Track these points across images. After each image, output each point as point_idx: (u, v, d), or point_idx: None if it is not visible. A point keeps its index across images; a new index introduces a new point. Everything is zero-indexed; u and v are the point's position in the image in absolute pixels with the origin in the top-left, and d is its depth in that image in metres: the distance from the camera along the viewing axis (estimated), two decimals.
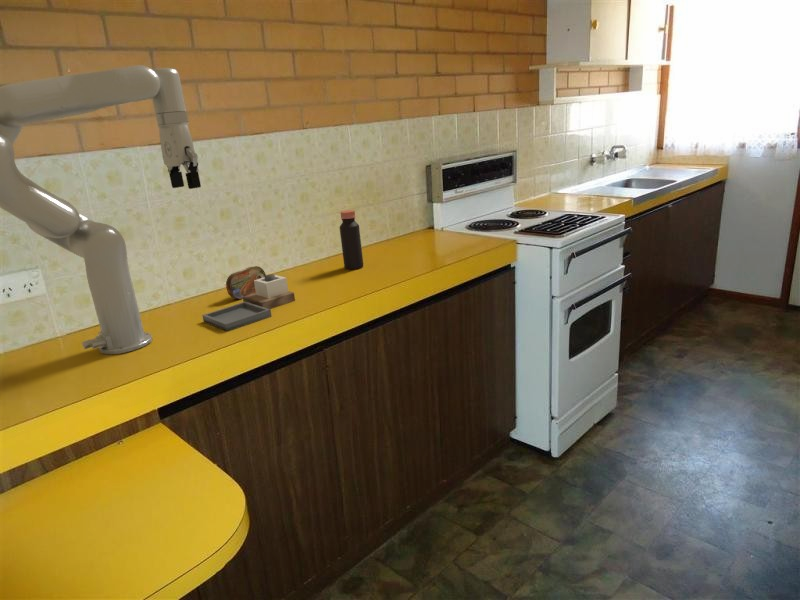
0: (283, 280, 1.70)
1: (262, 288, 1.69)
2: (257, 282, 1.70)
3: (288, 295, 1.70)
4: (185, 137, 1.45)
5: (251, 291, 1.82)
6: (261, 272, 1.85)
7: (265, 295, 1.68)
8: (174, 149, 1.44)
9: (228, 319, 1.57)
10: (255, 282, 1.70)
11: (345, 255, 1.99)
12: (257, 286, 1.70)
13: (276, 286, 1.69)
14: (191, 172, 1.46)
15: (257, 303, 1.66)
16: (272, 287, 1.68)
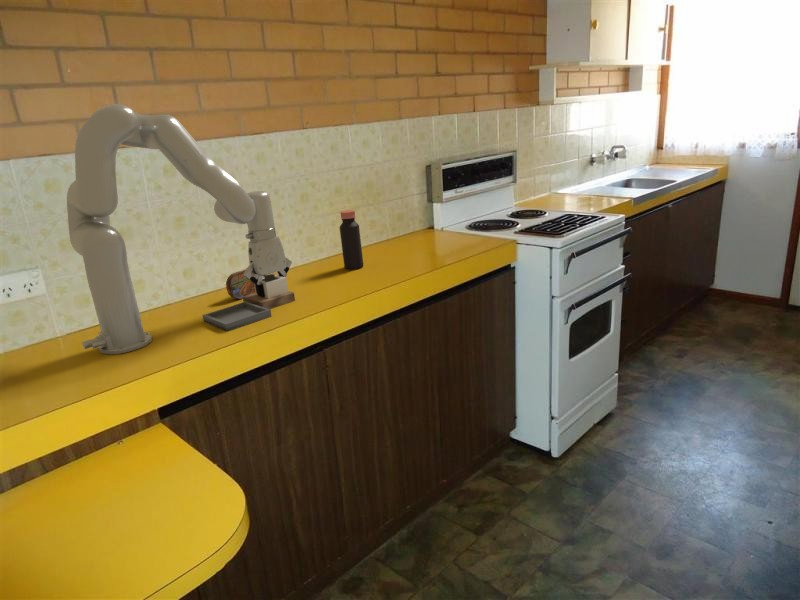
0: (283, 280, 1.70)
1: None
2: None
3: (288, 295, 1.70)
4: None
5: (251, 291, 1.82)
6: None
7: (265, 295, 1.68)
8: (281, 256, 1.69)
9: (228, 319, 1.57)
10: None
11: (345, 255, 1.99)
12: None
13: (276, 286, 1.69)
14: None
15: (257, 303, 1.66)
16: (272, 287, 1.68)
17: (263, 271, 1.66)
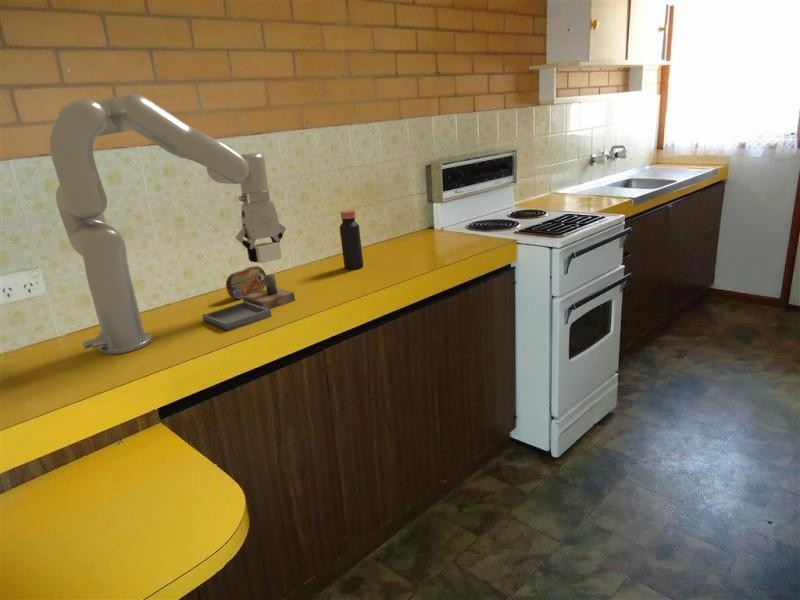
0: (277, 246, 1.67)
1: None
2: None
3: (288, 295, 1.70)
4: None
5: (251, 291, 1.82)
6: (261, 272, 1.85)
7: (258, 260, 1.65)
8: (275, 221, 1.66)
9: (228, 319, 1.57)
10: None
11: (345, 255, 1.99)
12: None
13: (269, 251, 1.65)
14: None
15: (257, 303, 1.66)
16: (265, 252, 1.64)
17: (256, 235, 1.62)
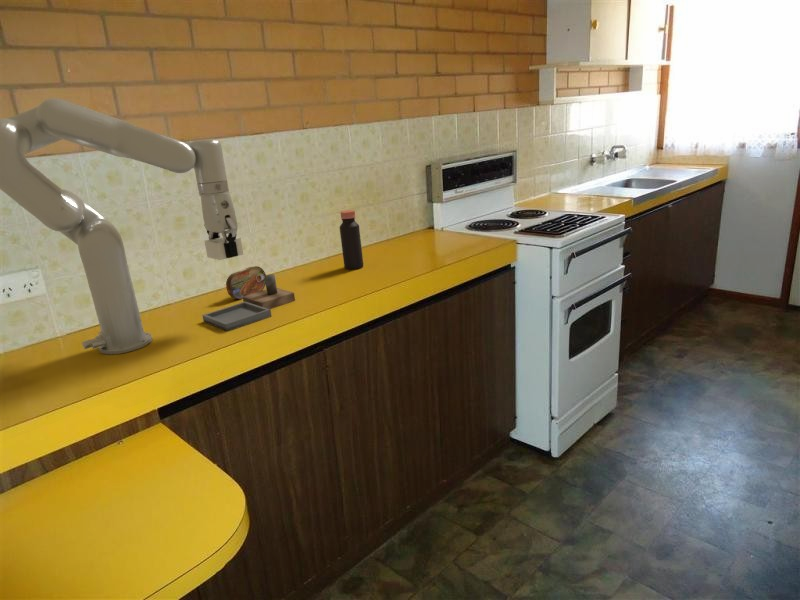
0: None
1: None
2: (223, 243, 1.49)
3: (288, 295, 1.70)
4: None
5: (251, 291, 1.82)
6: (261, 272, 1.85)
7: None
8: None
9: (228, 319, 1.57)
10: (220, 244, 1.49)
11: (345, 255, 1.99)
12: (223, 248, 1.50)
13: None
14: None
15: (257, 303, 1.66)
16: None
17: None
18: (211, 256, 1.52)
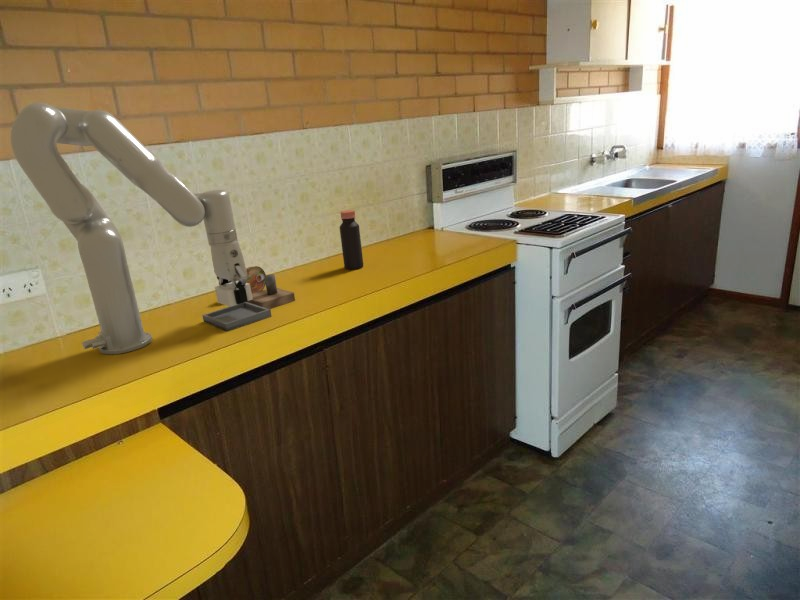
0: None
1: None
2: (233, 290, 1.53)
3: (288, 295, 1.70)
4: None
5: (251, 291, 1.82)
6: (261, 272, 1.85)
7: (247, 298, 1.57)
8: None
9: (228, 319, 1.57)
10: (230, 291, 1.53)
11: (345, 255, 1.99)
12: (233, 295, 1.54)
13: None
14: None
15: (257, 303, 1.66)
16: None
17: None
18: (221, 302, 1.57)
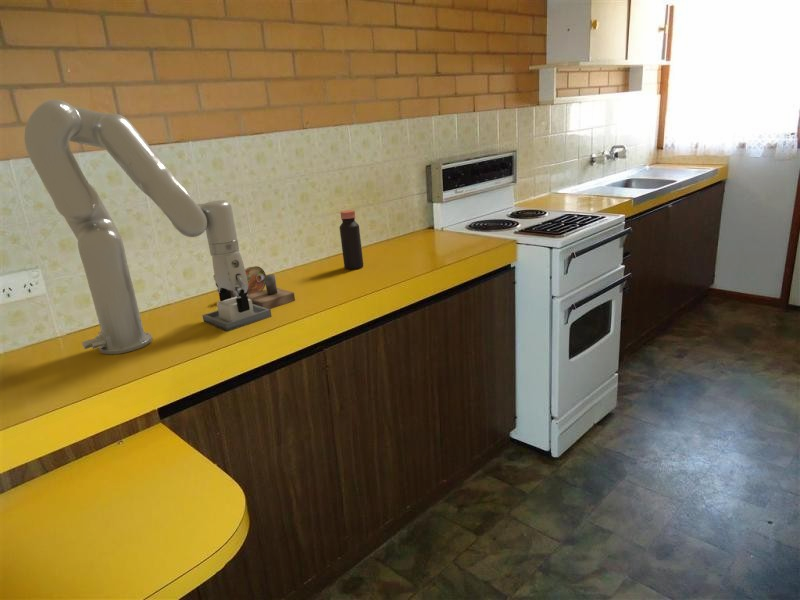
0: None
1: None
2: (235, 306, 1.55)
3: (288, 295, 1.70)
4: None
5: (251, 291, 1.82)
6: (261, 272, 1.85)
7: (248, 314, 1.58)
8: None
9: None
10: (231, 307, 1.54)
11: (345, 255, 1.99)
12: (235, 311, 1.55)
13: None
14: None
15: (257, 303, 1.66)
16: None
17: None
18: (223, 317, 1.58)
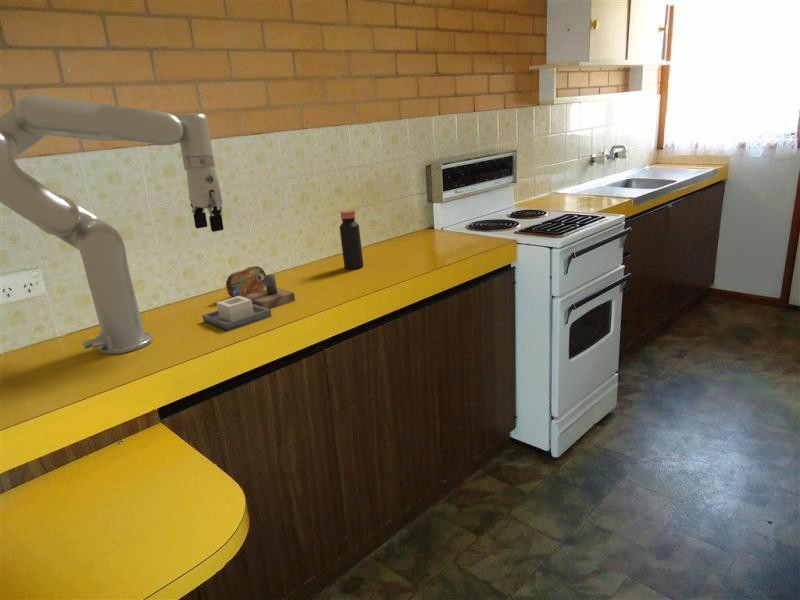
0: None
1: (243, 309, 1.57)
2: (235, 306, 1.55)
3: (288, 295, 1.70)
4: None
5: (251, 291, 1.82)
6: (261, 272, 1.85)
7: (248, 314, 1.58)
8: None
9: None
10: (231, 307, 1.54)
11: (345, 255, 1.99)
12: (235, 311, 1.55)
13: None
14: None
15: (257, 303, 1.66)
16: None
17: None
18: (223, 317, 1.58)
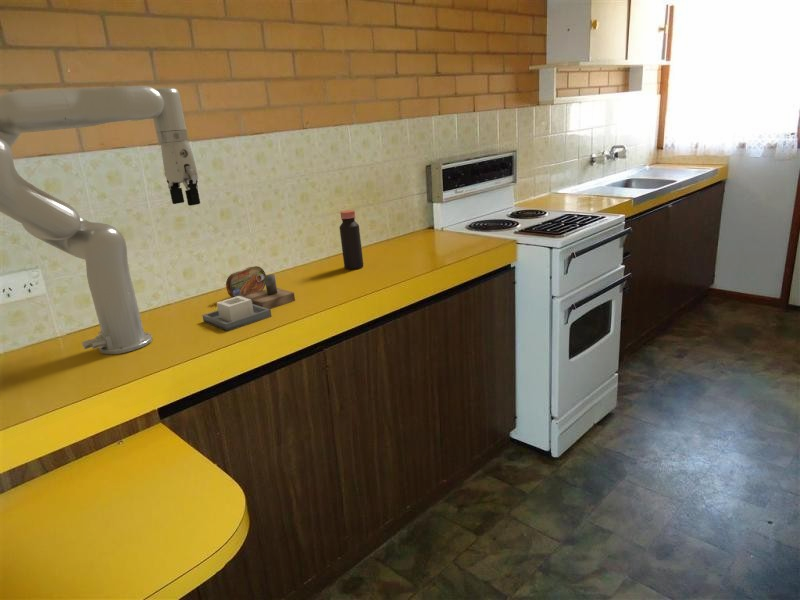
0: None
1: (243, 309, 1.57)
2: (235, 306, 1.55)
3: (288, 295, 1.70)
4: None
5: (251, 291, 1.82)
6: (261, 272, 1.85)
7: (248, 314, 1.58)
8: None
9: None
10: (231, 307, 1.54)
11: (345, 255, 1.99)
12: (235, 311, 1.55)
13: None
14: None
15: (257, 303, 1.66)
16: None
17: None
18: (223, 317, 1.58)
